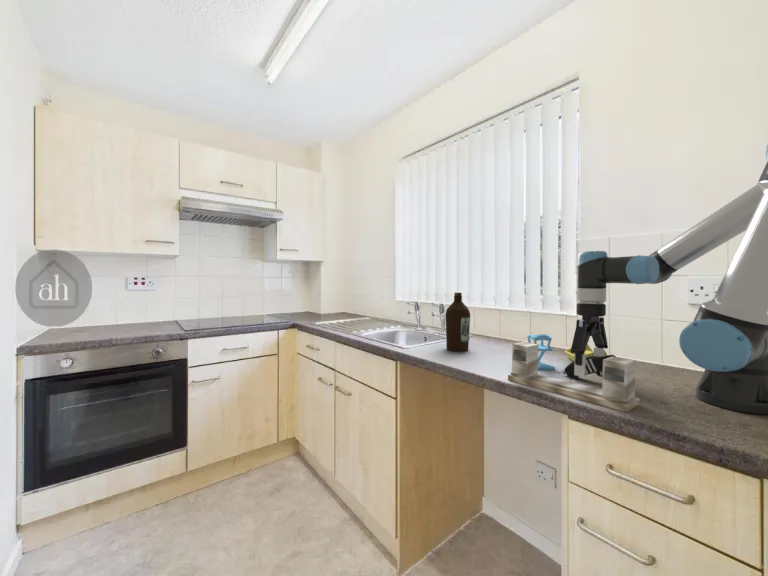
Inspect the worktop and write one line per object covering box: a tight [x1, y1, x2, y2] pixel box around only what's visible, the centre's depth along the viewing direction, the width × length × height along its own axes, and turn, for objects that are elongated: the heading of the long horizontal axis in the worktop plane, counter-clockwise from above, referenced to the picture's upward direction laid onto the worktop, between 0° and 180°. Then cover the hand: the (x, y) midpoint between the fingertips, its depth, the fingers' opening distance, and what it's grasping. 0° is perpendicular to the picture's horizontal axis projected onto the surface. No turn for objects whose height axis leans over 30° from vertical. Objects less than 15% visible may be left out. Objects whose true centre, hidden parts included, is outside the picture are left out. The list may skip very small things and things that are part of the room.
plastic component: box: [564, 343, 608, 362], centre depth 123 cm, size 20×7×10 cm
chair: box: [526, 333, 556, 371], centre depth 118 cm, size 8×8×12 cm
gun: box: [562, 354, 617, 379], centre depth 101 cm, size 3×16×10 cm, turn 37°
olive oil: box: [445, 292, 471, 353], centre depth 146 cm, size 11×11×25 cm
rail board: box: [507, 341, 640, 413], centre depth 92 cm, size 31×8×11 cm, turn 37°
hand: (589, 372), depth 102 cm, fingers open, 13 cm apart
